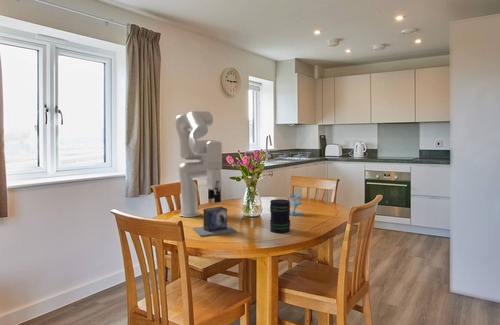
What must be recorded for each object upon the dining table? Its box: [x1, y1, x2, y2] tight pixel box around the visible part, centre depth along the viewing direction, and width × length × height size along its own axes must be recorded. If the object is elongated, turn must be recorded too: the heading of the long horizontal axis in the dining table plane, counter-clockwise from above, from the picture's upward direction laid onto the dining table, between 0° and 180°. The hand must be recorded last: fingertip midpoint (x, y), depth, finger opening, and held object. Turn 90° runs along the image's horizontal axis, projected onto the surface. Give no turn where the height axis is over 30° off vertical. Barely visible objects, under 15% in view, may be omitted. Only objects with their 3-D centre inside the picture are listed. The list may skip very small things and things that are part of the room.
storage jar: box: [269, 198, 291, 234], centre depth 178 cm, size 10×10×15 cm
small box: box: [202, 206, 228, 232], centre depth 180 cm, size 11×6×10 cm, turn 124°
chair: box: [286, 193, 304, 217], centre depth 215 cm, size 8×8×12 cm
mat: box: [192, 224, 238, 237], centre depth 180 cm, size 15×18×1 cm
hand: (214, 200), depth 180 cm, fingers open, 9 cm apart
